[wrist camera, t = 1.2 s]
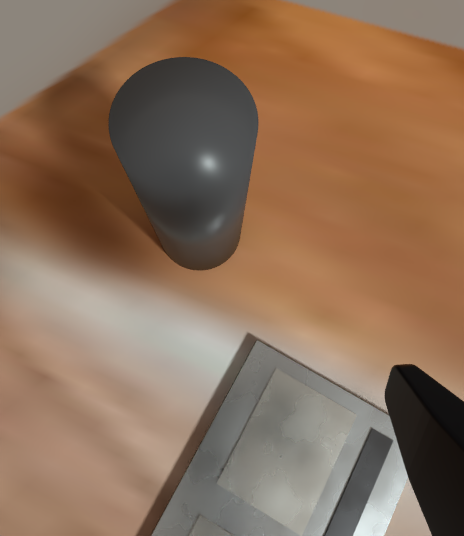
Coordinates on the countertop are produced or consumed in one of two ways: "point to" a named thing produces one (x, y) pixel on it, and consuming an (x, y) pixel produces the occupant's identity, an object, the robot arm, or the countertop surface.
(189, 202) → the post
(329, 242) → the countertop surface
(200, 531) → the label plate
